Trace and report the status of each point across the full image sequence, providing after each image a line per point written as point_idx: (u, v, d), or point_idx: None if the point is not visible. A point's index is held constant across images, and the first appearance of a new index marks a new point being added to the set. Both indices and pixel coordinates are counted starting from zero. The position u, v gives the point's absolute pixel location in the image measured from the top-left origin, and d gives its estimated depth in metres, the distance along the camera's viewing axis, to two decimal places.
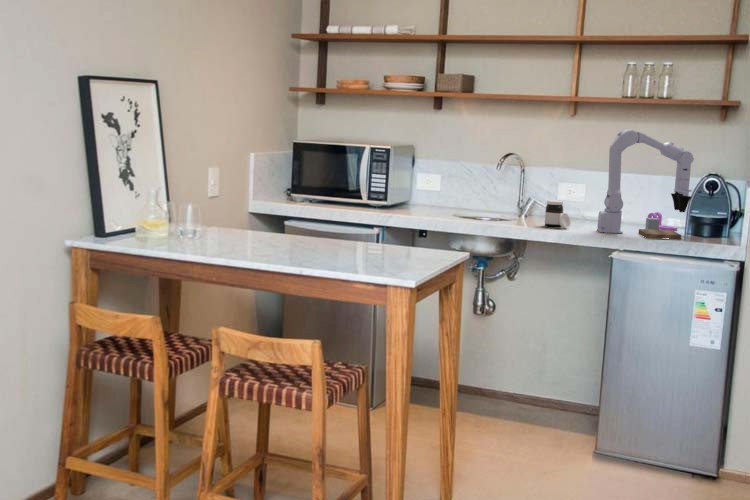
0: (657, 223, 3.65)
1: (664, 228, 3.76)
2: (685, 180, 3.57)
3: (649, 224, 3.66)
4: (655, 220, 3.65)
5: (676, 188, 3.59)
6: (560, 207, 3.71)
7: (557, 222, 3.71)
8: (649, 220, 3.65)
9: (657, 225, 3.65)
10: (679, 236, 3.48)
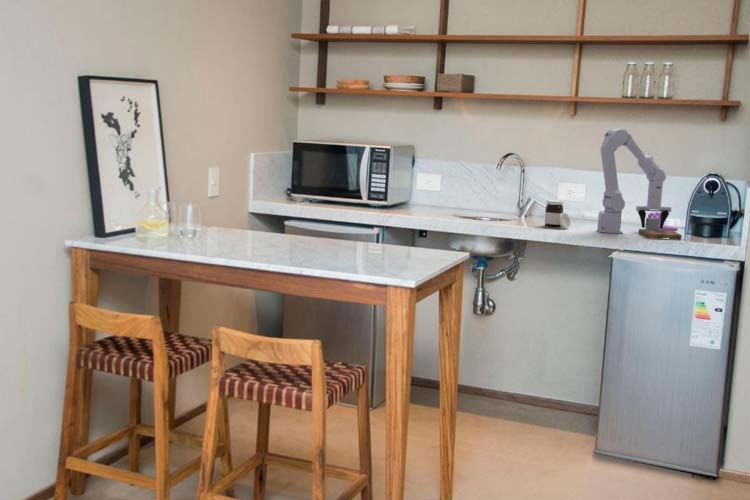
0: (657, 223, 3.65)
1: (664, 228, 3.76)
2: (648, 197, 3.65)
3: (649, 224, 3.66)
4: (655, 220, 3.65)
5: None
6: (560, 207, 3.71)
7: (557, 222, 3.71)
8: (649, 220, 3.65)
9: (657, 225, 3.65)
10: (679, 236, 3.48)
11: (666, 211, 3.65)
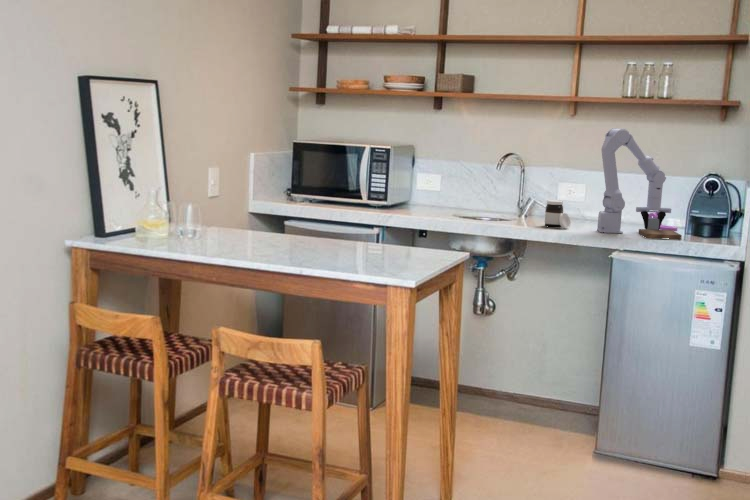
0: (657, 223, 3.65)
1: (664, 228, 3.76)
2: (648, 198, 3.65)
3: (649, 224, 3.66)
4: (655, 220, 3.65)
5: None
6: (560, 207, 3.71)
7: (557, 222, 3.71)
8: (649, 220, 3.65)
9: (657, 225, 3.65)
10: (679, 236, 3.48)
11: (666, 212, 3.66)
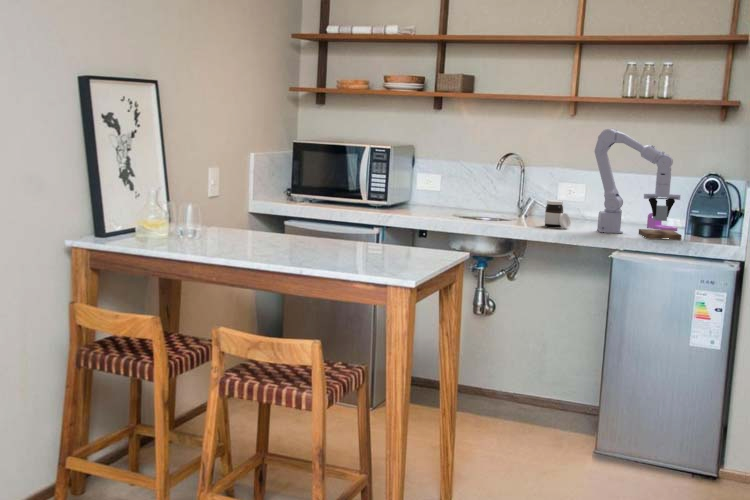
0: (665, 210, 3.53)
1: (664, 228, 3.76)
2: (656, 184, 3.53)
3: (657, 211, 3.53)
4: (663, 207, 3.53)
5: None
6: (560, 207, 3.71)
7: (557, 222, 3.71)
8: (657, 207, 3.53)
9: (665, 212, 3.53)
10: (679, 236, 3.48)
11: (675, 199, 3.53)
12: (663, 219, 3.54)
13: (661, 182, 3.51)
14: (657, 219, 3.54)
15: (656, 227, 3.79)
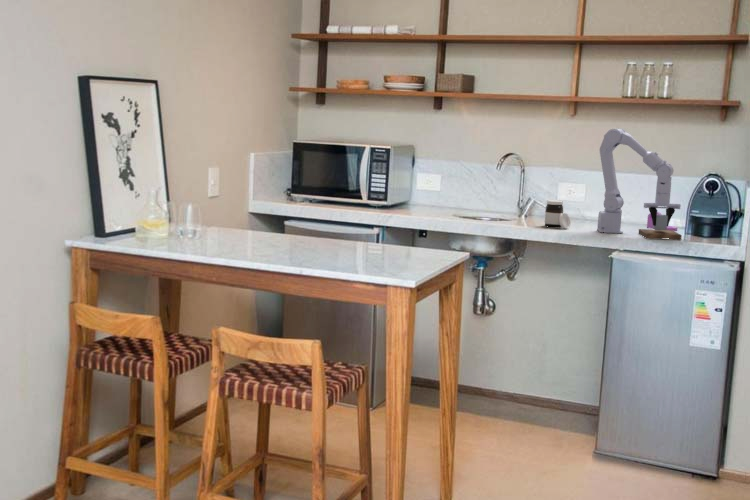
0: (665, 220, 3.52)
1: None
2: (656, 193, 3.52)
3: (657, 221, 3.53)
4: (663, 216, 3.52)
5: None
6: (560, 207, 3.71)
7: (557, 222, 3.71)
8: (657, 216, 3.52)
9: (665, 222, 3.52)
10: (679, 236, 3.48)
11: (675, 208, 3.52)
12: (663, 228, 3.53)
13: (661, 191, 3.50)
14: (657, 228, 3.53)
15: None
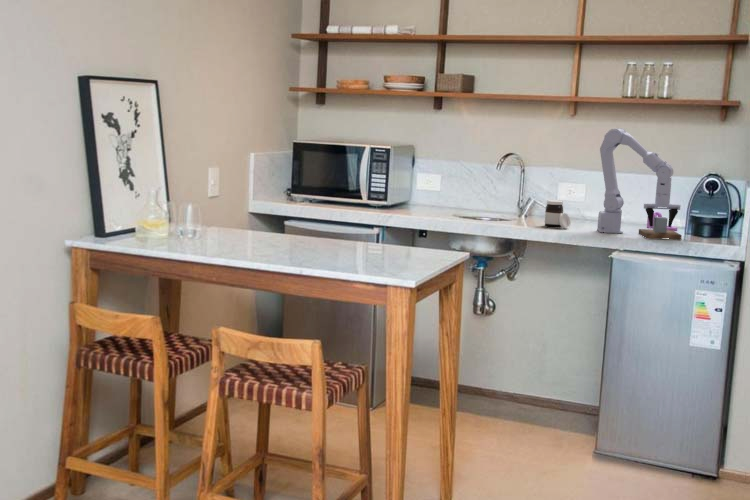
0: (665, 222, 3.52)
1: None
2: (656, 194, 3.52)
3: (657, 223, 3.53)
4: (663, 219, 3.52)
5: None
6: (560, 207, 3.71)
7: (557, 222, 3.71)
8: (657, 219, 3.53)
9: (665, 224, 3.53)
10: (679, 236, 3.48)
11: (675, 209, 3.52)
12: (663, 231, 3.53)
13: (661, 192, 3.50)
14: (657, 231, 3.53)
15: None
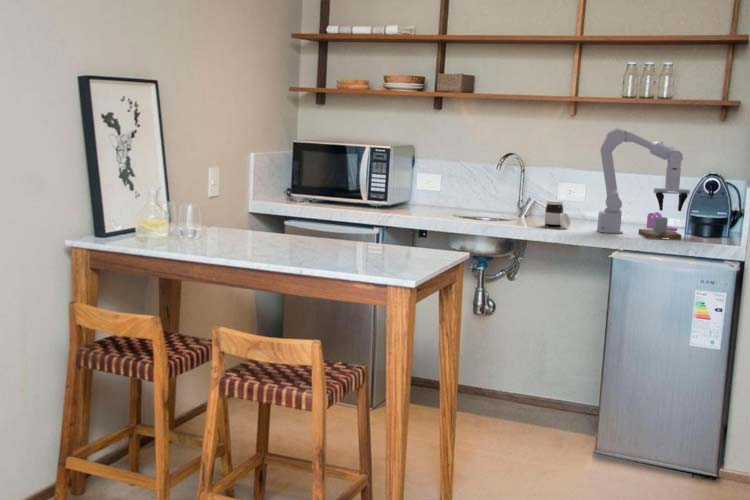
0: (665, 222, 3.52)
1: None
2: (666, 179, 3.57)
3: (657, 223, 3.53)
4: (663, 219, 3.52)
5: None
6: (560, 207, 3.71)
7: (557, 222, 3.71)
8: (657, 219, 3.53)
9: (665, 224, 3.53)
10: (679, 236, 3.48)
11: (685, 193, 3.57)
12: (663, 231, 3.53)
13: (673, 177, 3.54)
14: (657, 231, 3.53)
15: None
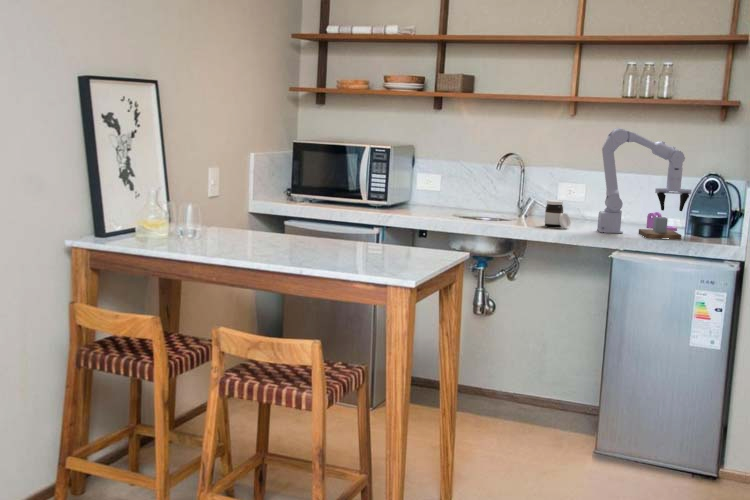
0: (665, 222, 3.52)
1: None
2: (667, 179, 3.58)
3: (657, 223, 3.53)
4: (663, 219, 3.52)
5: None
6: (560, 207, 3.71)
7: (557, 222, 3.71)
8: (657, 219, 3.53)
9: (665, 224, 3.53)
10: (679, 236, 3.48)
11: (686, 193, 3.58)
12: (663, 231, 3.53)
13: (675, 177, 3.55)
14: (657, 231, 3.53)
15: None
